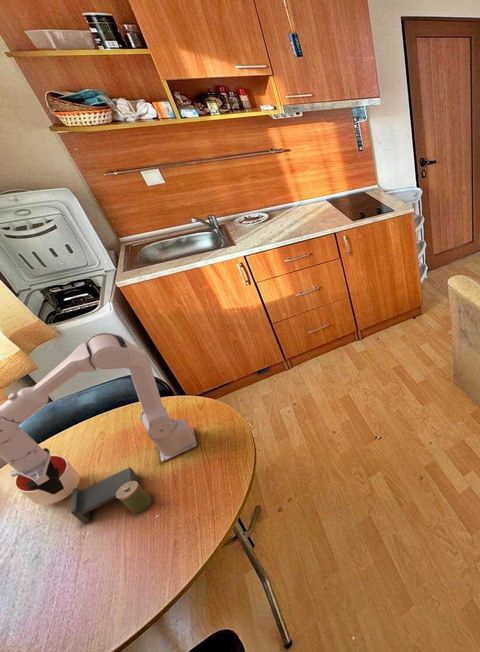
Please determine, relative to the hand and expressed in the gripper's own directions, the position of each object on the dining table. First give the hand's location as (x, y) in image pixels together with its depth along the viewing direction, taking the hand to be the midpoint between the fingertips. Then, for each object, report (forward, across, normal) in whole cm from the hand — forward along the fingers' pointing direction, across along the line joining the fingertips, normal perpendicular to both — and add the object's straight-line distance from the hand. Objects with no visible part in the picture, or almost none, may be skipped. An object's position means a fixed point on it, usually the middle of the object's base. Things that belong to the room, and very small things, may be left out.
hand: (54, 482), depth 98 cm
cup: (+9, -9, -2) cm, 13 cm away
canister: (+10, +15, +11) cm, 21 cm away
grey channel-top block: (+10, +6, +6) cm, 14 cm away
